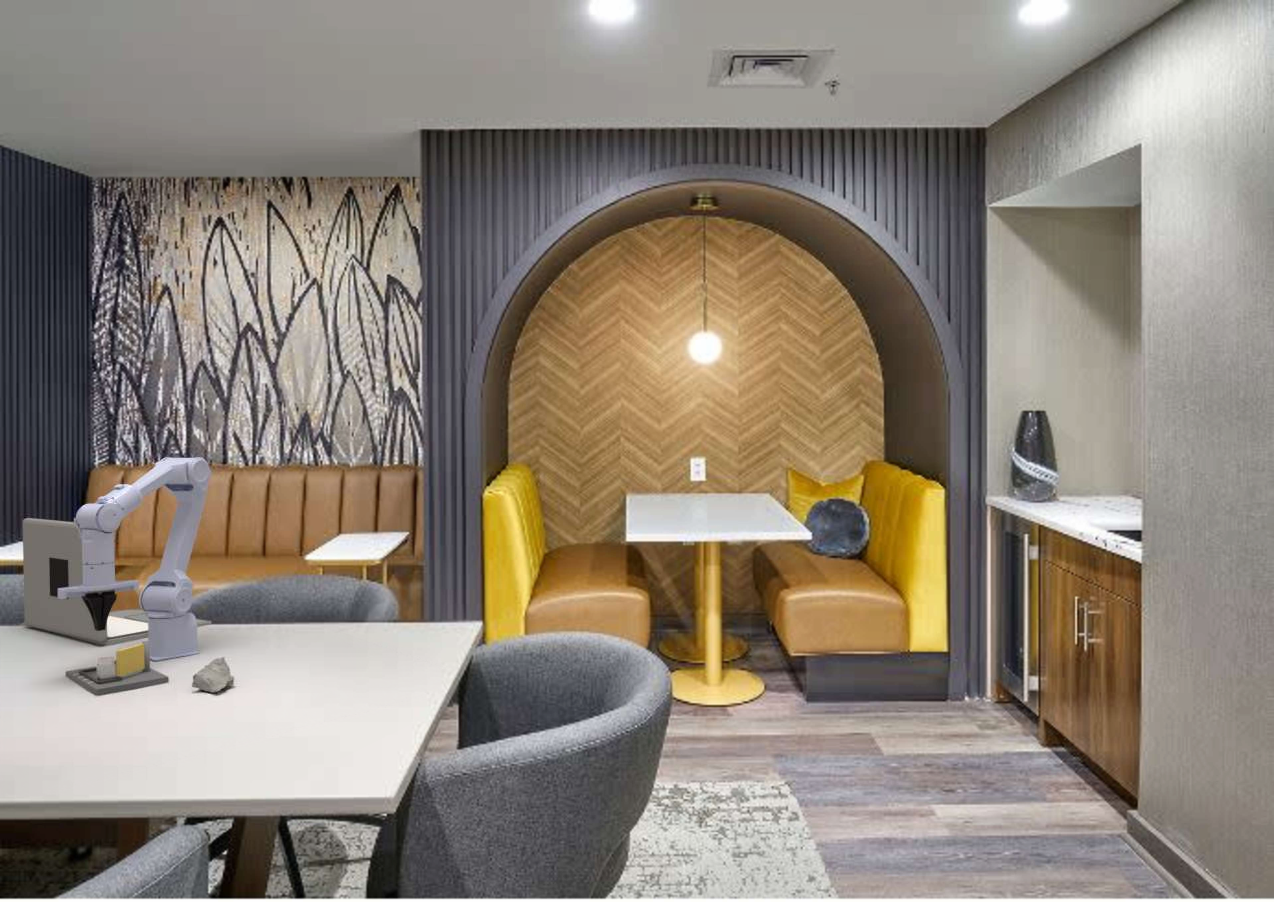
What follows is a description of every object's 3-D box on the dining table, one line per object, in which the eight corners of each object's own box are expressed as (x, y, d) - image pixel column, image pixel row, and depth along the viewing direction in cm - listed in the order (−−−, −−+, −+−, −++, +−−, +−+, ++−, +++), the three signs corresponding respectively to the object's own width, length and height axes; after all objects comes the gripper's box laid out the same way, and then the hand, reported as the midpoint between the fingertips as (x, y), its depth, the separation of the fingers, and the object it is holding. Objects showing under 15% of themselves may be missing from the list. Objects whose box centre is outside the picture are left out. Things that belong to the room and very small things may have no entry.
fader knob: (112, 676, 195) (111, 655, 195) (116, 678, 193) (115, 657, 193) (96, 679, 193) (96, 658, 193) (100, 681, 191) (100, 660, 191)
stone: (249, 676, 199) (249, 655, 199) (220, 694, 187) (220, 672, 187) (218, 675, 199) (218, 654, 199) (187, 693, 187) (187, 671, 187)
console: (133, 665, 210) (133, 632, 210) (168, 682, 196) (168, 646, 196) (65, 677, 201) (64, 641, 200) (97, 695, 187) (96, 657, 186)
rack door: (144, 668, 199) (144, 643, 199) (119, 676, 193) (119, 651, 193) (136, 667, 200) (136, 643, 200) (111, 675, 193) (111, 650, 193)
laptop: (213, 631, 247) (211, 516, 246) (100, 653, 223) (97, 525, 223) (135, 616, 267) (133, 509, 266) (23, 635, 243) (20, 518, 242)
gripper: (129, 557, 207) (130, 621, 207) (52, 564, 196) (53, 632, 197) (142, 560, 202) (143, 626, 202) (63, 568, 192) (64, 637, 192)
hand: (100, 629), depth 199 cm, fingers closed
